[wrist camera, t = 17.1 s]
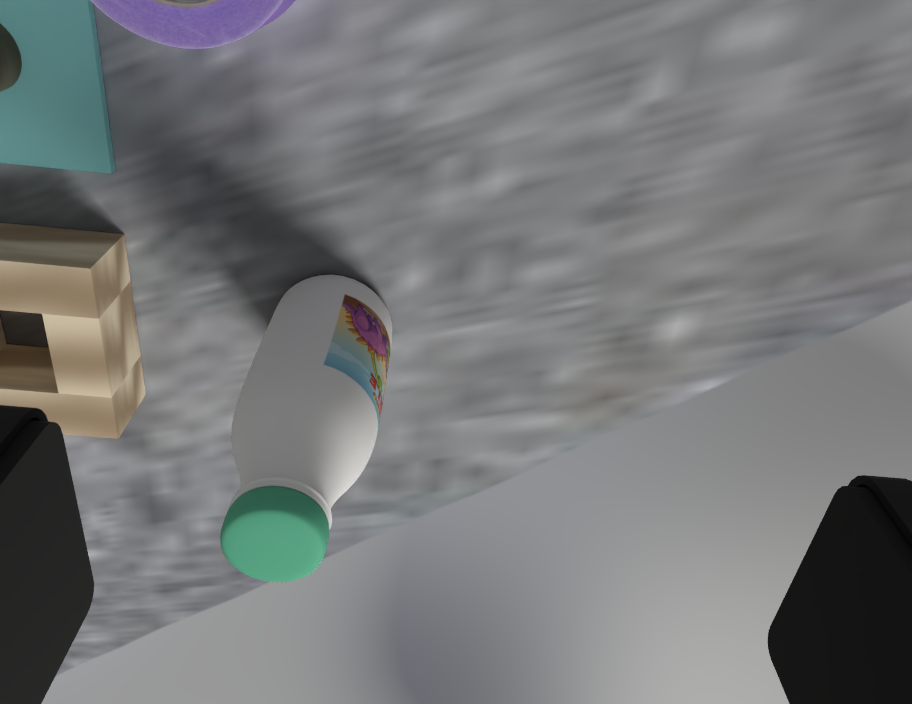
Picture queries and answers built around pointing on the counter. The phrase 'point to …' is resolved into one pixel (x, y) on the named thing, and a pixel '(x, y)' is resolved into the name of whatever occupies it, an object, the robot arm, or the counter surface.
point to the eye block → (71, 328)
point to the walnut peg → (8, 60)
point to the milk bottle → (305, 424)
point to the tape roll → (193, 19)
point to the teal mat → (55, 89)
